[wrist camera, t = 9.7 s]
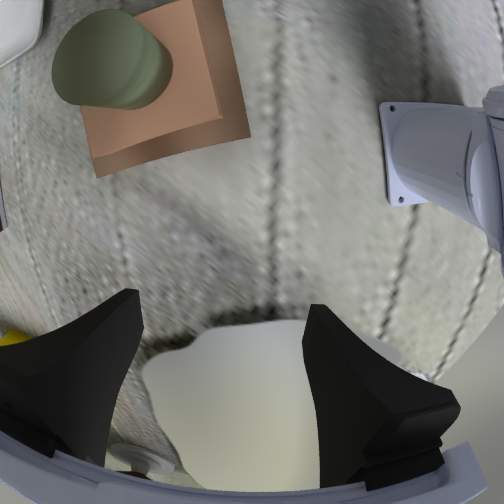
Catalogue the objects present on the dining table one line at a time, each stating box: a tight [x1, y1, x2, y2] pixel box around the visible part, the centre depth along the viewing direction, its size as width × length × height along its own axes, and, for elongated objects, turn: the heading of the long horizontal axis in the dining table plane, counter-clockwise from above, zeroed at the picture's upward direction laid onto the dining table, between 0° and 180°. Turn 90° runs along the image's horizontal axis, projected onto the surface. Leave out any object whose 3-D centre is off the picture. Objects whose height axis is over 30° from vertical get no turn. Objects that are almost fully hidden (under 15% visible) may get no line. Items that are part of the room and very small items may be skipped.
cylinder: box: [52, 9, 173, 110], centre depth 10 cm, size 4×4×5 cm
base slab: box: [86, 0, 251, 178], centre depth 16 cm, size 11×11×2 cm
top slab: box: [81, 0, 224, 158], centre depth 14 cm, size 8×8×2 cm
